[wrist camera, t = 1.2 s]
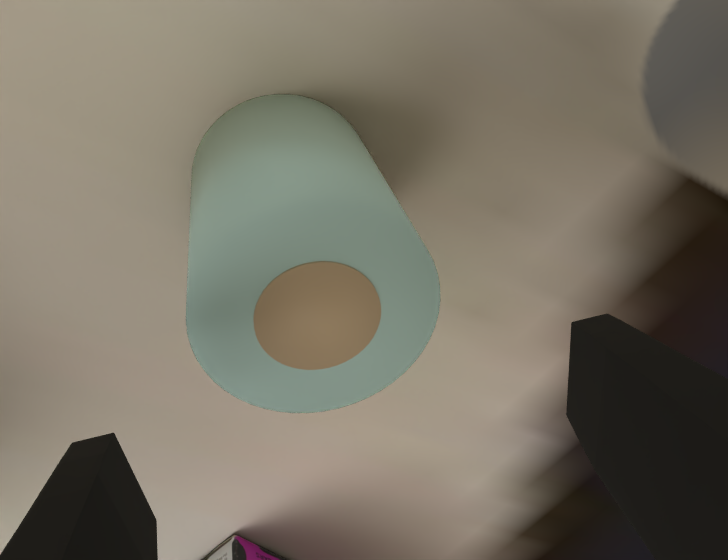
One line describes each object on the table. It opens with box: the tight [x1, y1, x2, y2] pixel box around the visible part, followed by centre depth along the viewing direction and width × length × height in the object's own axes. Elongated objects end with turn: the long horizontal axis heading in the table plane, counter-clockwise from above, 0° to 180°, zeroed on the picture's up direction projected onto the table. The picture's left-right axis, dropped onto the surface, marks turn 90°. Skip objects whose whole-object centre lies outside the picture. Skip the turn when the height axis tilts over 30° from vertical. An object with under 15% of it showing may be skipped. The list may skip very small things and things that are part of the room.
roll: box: [186, 94, 440, 413], centre depth 16 cm, size 5×5×7 cm
